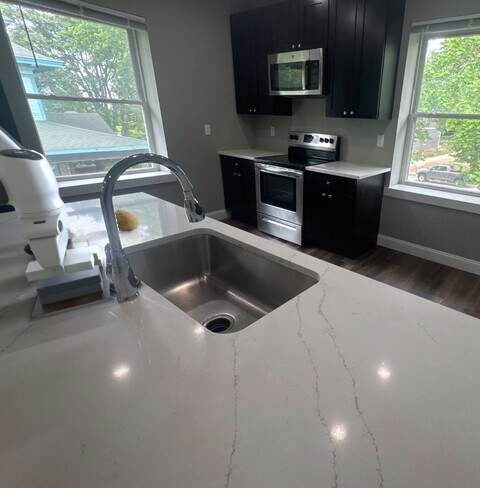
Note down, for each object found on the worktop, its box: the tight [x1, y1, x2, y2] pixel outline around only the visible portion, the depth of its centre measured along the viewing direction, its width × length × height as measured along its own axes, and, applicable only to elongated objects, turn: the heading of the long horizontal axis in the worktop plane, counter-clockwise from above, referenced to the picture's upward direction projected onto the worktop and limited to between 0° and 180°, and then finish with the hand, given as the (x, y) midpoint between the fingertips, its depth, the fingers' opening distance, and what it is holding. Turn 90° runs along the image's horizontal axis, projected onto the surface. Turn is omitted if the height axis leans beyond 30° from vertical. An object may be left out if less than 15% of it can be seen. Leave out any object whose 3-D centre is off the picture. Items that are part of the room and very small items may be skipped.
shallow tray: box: [30, 251, 111, 319], centre depth 88 cm, size 16×32×2 cm, turn 34°
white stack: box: [67, 244, 103, 267], centre depth 93 cm, size 13×7×5 cm, turn 124°
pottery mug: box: [23, 238, 73, 256], centre depth 101 cm, size 12×10×8 cm
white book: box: [24, 251, 94, 282], centre depth 78 cm, size 13×6×2 cm, turn 124°
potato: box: [114, 208, 140, 232], centre depth 123 cm, size 10×14×8 cm
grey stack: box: [36, 265, 103, 305], centre depth 81 cm, size 13×7×5 cm, turn 124°
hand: (63, 267), depth 79 cm, fingers closed on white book, 6 cm apart
